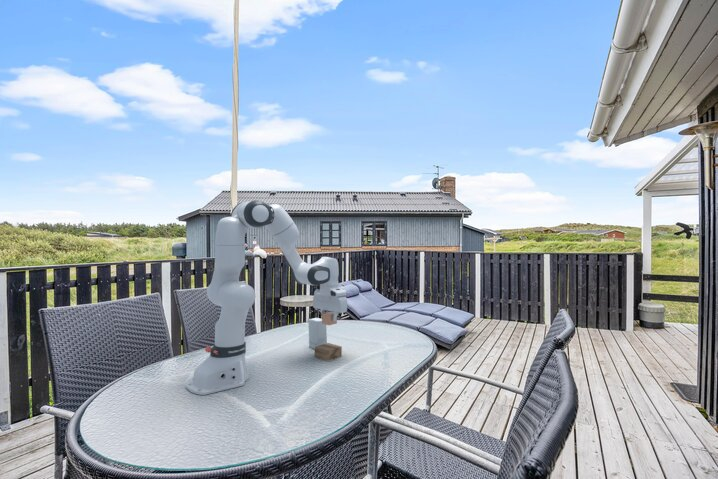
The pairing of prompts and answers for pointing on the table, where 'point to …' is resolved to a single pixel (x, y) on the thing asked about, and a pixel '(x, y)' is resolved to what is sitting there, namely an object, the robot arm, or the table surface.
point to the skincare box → (317, 332)
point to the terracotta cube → (328, 318)
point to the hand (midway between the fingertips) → (329, 319)
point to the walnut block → (328, 351)
